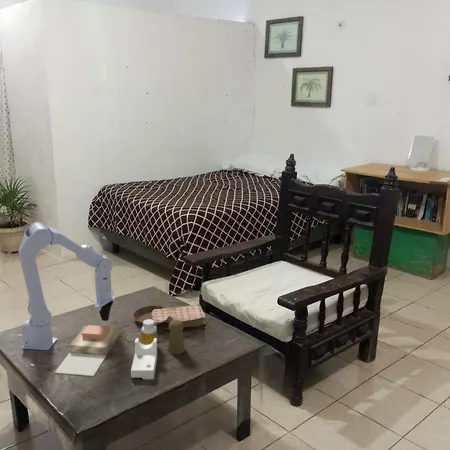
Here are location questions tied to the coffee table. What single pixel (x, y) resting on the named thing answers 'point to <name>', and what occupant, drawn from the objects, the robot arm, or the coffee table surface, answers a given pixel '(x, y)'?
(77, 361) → the mat
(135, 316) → the saucer
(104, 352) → the beige flat block
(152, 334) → the supplement bottle
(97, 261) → the robot arm
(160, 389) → the coffee table surface
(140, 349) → the bracket
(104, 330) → the tile
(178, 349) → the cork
